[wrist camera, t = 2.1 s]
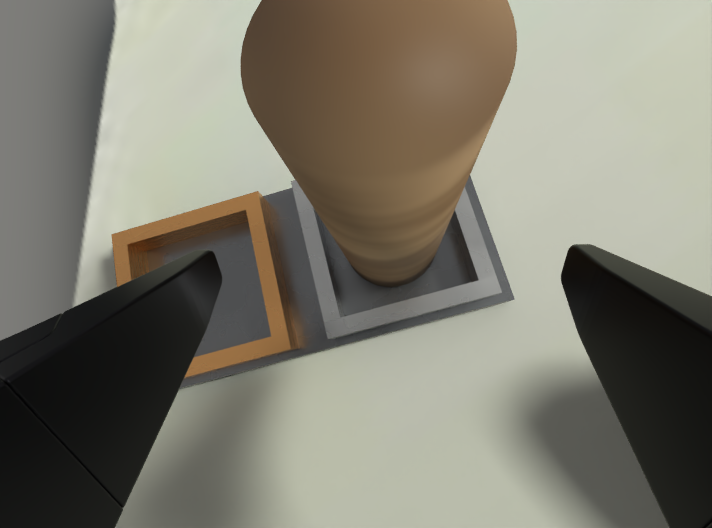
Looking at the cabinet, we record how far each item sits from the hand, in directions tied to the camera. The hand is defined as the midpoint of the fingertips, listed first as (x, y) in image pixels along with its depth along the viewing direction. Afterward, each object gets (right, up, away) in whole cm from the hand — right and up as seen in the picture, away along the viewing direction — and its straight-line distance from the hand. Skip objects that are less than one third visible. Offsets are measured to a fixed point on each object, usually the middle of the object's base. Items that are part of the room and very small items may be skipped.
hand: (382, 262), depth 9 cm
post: (+1, +1, +10) cm, 10 cm away
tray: (-4, 0, +11) cm, 12 cm away
